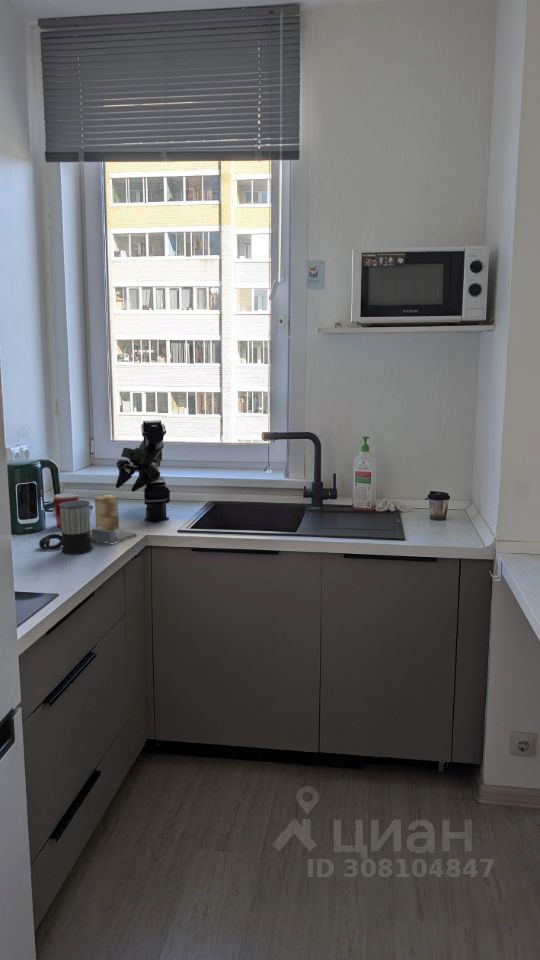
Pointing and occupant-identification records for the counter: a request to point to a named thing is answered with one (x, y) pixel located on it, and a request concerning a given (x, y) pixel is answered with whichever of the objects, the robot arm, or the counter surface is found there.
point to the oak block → (107, 512)
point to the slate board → (110, 535)
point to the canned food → (59, 499)
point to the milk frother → (72, 529)
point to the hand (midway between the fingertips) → (124, 489)
